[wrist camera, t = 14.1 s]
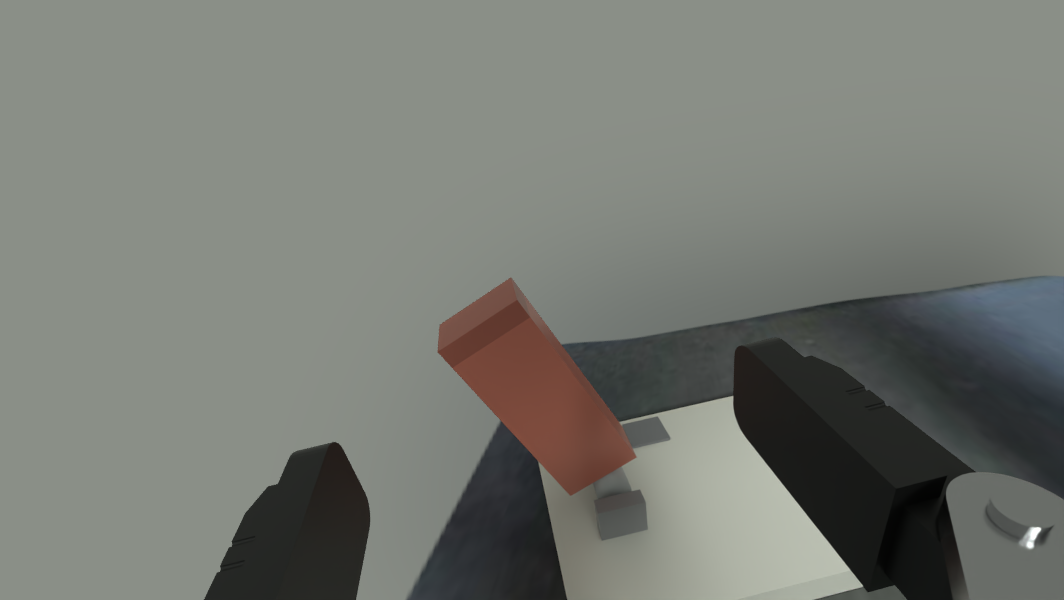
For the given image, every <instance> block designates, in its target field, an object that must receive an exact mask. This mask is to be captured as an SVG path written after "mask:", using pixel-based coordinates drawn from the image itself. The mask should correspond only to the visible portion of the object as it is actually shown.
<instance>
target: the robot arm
mask: <svg viewBox="0 0 1064 600" xmlns="http://www.w3.org/2000/svg"><path fill="white" fill-rule="evenodd" d="M733 409H734V414H735V418H736V420H737V423H738V425H739V428H740V429H741V431H742V433H743V434H744V436H745V437H746V439H747V440H748V441H749V442H750V444H751V445H752V446H753V447H754V449H755V450H756V451H757V452H758V454H759V455H760V456H761V458H762V459H763V460H764V461H765V463H766V464H767V465H768V466H769V468H770V469H771V470H772V471H773V473H774V474H775V475H776V476H777V478H778V479H779V480H780V482H781V483H782V484H783V485H784V487H785V488H786V489H787V490H788V492H789V493H790V494H791V495H792V497H793V498H794V499H795V501H796V502H797V503H798V504H799V506H800V507H801V508H802V509H803V511H804V512H805V513H806V514H807V516H808V517H809V518H810V520H811V521H812V522H813V523H814V525H815V526H816V527H817V528H818V530H819V531H820V532H821V533H822V535H823V536H824V537H825V538H826V540H827V541H828V542H829V544H830V545H831V546H832V547H833V549H834V550H835V551H836V552H837V554H838V555H839V556H840V557H841V559H842V560H843V561H844V563H845V564H846V565H847V566H848V568H849V569H850V570H851V571H852V573H853V574H854V575H855V576H856V578H857V579H858V580H859V582H860V583H861V584H862V585H863V587H864V588H865V589H866V590H867V592H871V591H874V590H878V589H882V588H885V587H889V586H893V585H895V586H896V587H897V588H898V589H899V590H900V591H901V593H902V594H903V595H904V596H905V597H906V598H907V600H1064V500H1063V499H1062V498H1060V497H1059V496H1057V495H1055V494H1054V493H1052V492H1050V491H1048V490H1046V489H1044V488H1042V487H1040V486H1037V485H1035V484H1032V483H1030V482H1027V481H1024V480H1021V479H1018V478H1015V477H1011V476H1007V475H1003V474H997V473H987V472H975V471H974V470H973V469H971V468H970V467H968V466H967V465H966V464H964V463H963V462H962V461H961V460H959V459H958V458H957V457H955V456H954V455H953V454H951V453H950V452H949V451H948V450H946V449H945V448H944V447H942V446H941V445H940V444H939V443H937V442H936V441H935V440H933V439H932V438H931V437H929V436H928V435H927V434H926V433H924V432H923V431H922V430H920V429H919V428H918V427H917V426H915V425H914V424H913V423H911V422H910V421H909V420H907V419H906V418H905V417H904V416H902V415H901V414H900V413H898V412H897V411H896V410H894V409H893V408H892V407H891V406H886V405H885V403H884V401H883V400H882V399H880V398H879V397H878V396H876V395H875V394H874V393H872V392H871V391H870V390H868V391H866V390H865V386H863V385H862V384H861V383H859V382H858V381H857V380H856V379H854V378H853V377H852V376H850V375H849V374H848V373H847V372H845V371H844V370H843V369H841V368H839V367H837V366H834V365H832V364H830V363H827V362H825V361H823V360H820V359H818V358H816V357H813V356H808V357H803V356H802V355H801V354H799V353H798V352H797V351H796V350H794V349H793V348H792V347H791V346H790V345H788V344H787V343H786V342H785V341H783V340H782V339H780V338H770V339H766V340H762V341H758V342H754V343H750V344H745V345H741V346H739V347H737V349H736V351H735V358H734V391H733ZM369 527H370V510H369V503H368V500H367V497H366V494H365V492H364V490H363V488H362V486H361V484H360V482H359V480H358V478H357V476H356V474H355V472H354V470H353V468H352V466H351V464H350V462H349V460H348V458H347V456H346V454H345V452H344V450H343V449H342V447H341V446H340V445H339V444H338V443H336V442H332V443H328V444H324V445H320V446H316V447H312V448H307V449H303V450H299V451H296V452H294V453H293V454H292V455H291V456H290V458H289V460H288V462H287V465H286V467H285V469H284V471H283V474H282V476H281V478H280V481H279V483H278V484H276V485H272V486H268V487H267V488H266V490H265V491H264V492H263V493H262V494H261V495H260V497H259V498H258V499H257V500H256V501H255V502H254V504H253V505H252V506H251V507H250V508H249V510H248V511H247V512H246V513H245V515H244V517H243V519H242V521H241V523H240V526H239V528H238V530H237V532H236V534H235V536H234V538H233V540H232V547H229V549H228V551H227V553H226V555H225V557H224V559H223V561H222V563H221V566H220V567H221V571H220V572H218V573H217V574H216V576H215V578H214V580H213V582H212V584H211V586H210V588H209V590H208V593H207V595H206V597H205V599H204V600H356V596H357V591H358V585H359V580H360V575H361V570H362V565H363V560H364V554H365V549H366V544H367V538H368V533H369Z"/></svg>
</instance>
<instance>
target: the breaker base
mask: <svg viewBox="0 0 1064 600" xmlns="http://www.w3.org/2000/svg"><path fill="white" fill-rule="evenodd" d="M619 423H620V424H621V425H622V427H623V429H624V431H625V434H626V436H627V438H628V440H629V442H630V444H631V446H632V448H633V450H634V453H635V455H636V457H637V458H635V459H633V460H631V461H630V462H628V463H626V464H625V465H623V466H622V468H623V470H624V472H625V475H626V477H627V479H628V482H629V484H630V486H631V489H632V491H631V492H627V493H622V494H618V495H614V496H610V497H606V498H601V499H598V498H597V495H596V492H595V489H594V486H593V483H592V484H590V485H589V486H587V487H585V488H583V489H582V490H580V491H578V492H577V493H575V494H573V495H571V496H570V495H569V494H568V493H567V492H566V491H565V490H564V488H563V487H562V486H561V485H560V484H559V483H558V482H557V481H556V480H555V479H554V478H553V477H552V475H551V474H550V473H549V472H548V471H547V470H546V469H545V468H544V467H543V466H542V465H541V464H540V462H539V461H538V463H539V468H540V472H541V477H542V482H543V487H544V491H545V496H546V501H547V506H548V510H549V515H550V520H551V525H552V530H553V534H554V539H555V544H556V549H557V553H558V558H559V563H560V568H561V572H562V577H563V582H564V587H565V592H566V596H567V600H814V599H818V598H822V597H825V596H829V595H833V594H837V593H841V592H845V591H849V590H852V589H856V588H860V587H863V585H862V584H861V583H860V582H859V580H858V579H857V578H856V576H855V575H854V574H853V573H852V571H851V570H850V569H849V568H848V566H847V565H846V564H845V563H844V561H843V560H842V559H841V557H840V556H839V555H838V554H837V552H836V551H835V550H834V549H833V547H832V546H831V545H830V544H829V542H828V541H827V540H826V538H825V537H824V536H823V535H822V533H821V532H820V531H819V530H818V528H817V527H816V526H815V525H814V523H813V522H812V521H811V520H810V518H809V517H808V516H807V514H806V513H805V512H804V511H803V509H802V508H801V507H800V506H799V504H798V503H797V502H796V501H795V499H794V498H793V497H792V495H791V494H790V493H789V492H788V490H787V489H786V488H785V487H784V485H783V484H782V483H781V482H780V480H779V479H778V478H777V476H776V475H775V474H774V473H773V471H772V470H771V469H770V468H769V466H768V465H767V464H766V463H765V461H764V460H763V459H762V458H761V456H760V455H759V454H758V452H757V451H756V450H755V449H754V447H753V446H752V445H751V444H750V442H749V441H748V440H747V439H746V437H745V436H744V434H743V433H742V431H741V429H740V428H739V425H738V423H737V420H736V418H735V414H734V409H733V396H730V397H726V398H722V399H717V400H713V401H709V402H704V403H700V404H696V405H691V406H687V407H682V408H678V409H674V410H669V411H665V412H661V413H656V414H652V415H648V416H643V417H639V418H634V419H630V420H626V421H621V422H619Z"/></svg>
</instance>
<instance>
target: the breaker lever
mask: <svg viewBox="0 0 1064 600" xmlns="http://www.w3.org/2000/svg"><path fill="white" fill-rule="evenodd" d="M438 353H439V354H440V355H441V356H442V357H443V358H444V359H445V361H446V362H447V363H448V364H449V365H450V366H451V367H452V368H453V369H454V370H455V371H456V372H457V374H458V375H459V376H460V377H462V379H463V380H464V381H465V382H466V383H467V384H468V385H469V387H470V388H471V389H472V390H473V391H474V392H475V393H476V394H477V395H478V396H479V397H480V398H481V399H482V401H483V402H484V403H485V404H486V405H487V406H488V407H489V408H490V409H491V410H492V411H493V413H494V414H495V415H496V416H497V417H498V418H499V419H500V420H501V421H502V422H503V423H504V425H505V426H506V427H507V428H508V429H509V430H510V431H511V432H512V433H513V434H514V435H515V436H516V438H517V439H518V440H519V441H520V442H521V443H522V444H523V445H524V446H525V447H526V448H527V449H528V451H529V452H530V453H531V454H532V455H533V456H534V457H535V458H536V459H537V460H538V461H539V462H540V464H541V465H542V466H543V467H544V468H545V469H546V470H547V471H548V472H549V473H550V474H551V475H552V477H553V478H554V479H555V480H556V481H557V482H558V483H559V484H560V485H561V486H562V487H563V488H564V490H565V491H566V492H567V493H568V494H569V495H570V496H571V495H573V494H575V493H577V492H578V491H580V490H582V489H583V488H585V487H587V486H589V485H590V484H592V483H593V486H594V489H595V492H596V495H597V498H598V499H601V498H606V497H610V496H614V495H618V494H622V493H627V492H631V491H632V489H631V486H630V484H629V482H628V479H627V477H626V475H625V472H624V470H623V468H622V466H623V465H625V464H626V463H628V462H630V461H631V460H633V459H635V458H637V457H636V455H635V453H634V450H633V448H632V446H631V444H630V442H629V440H628V438H627V436H626V434H625V431H624V429H623V427H622V425H621V424H620V423H619V421H618V420H617V419H616V417H615V416H614V415H613V413H612V412H611V411H610V409H609V408H608V407H607V405H606V404H605V403H604V401H603V400H602V399H601V397H600V396H599V395H598V393H597V392H596V391H595V389H594V388H593V387H592V385H591V384H590V383H589V381H588V380H587V379H586V377H585V376H584V375H583V373H582V372H581V370H580V369H579V368H578V366H577V365H576V364H575V362H574V361H573V360H572V358H571V357H570V356H569V354H568V353H567V352H566V350H565V349H564V348H563V346H562V345H561V344H560V342H559V341H558V340H557V338H556V337H555V336H554V334H553V333H552V332H551V330H550V329H549V328H548V326H547V325H546V324H545V322H544V321H543V320H542V318H541V317H540V316H539V314H538V313H537V312H536V310H535V309H534V308H533V306H532V305H531V303H529V301H528V299H527V298H526V297H525V296H524V294H523V293H522V291H521V290H520V289H519V287H518V286H517V285H516V283H515V282H514V281H513V279H512V278H509V279H508V280H506V281H505V282H503V283H502V284H500V285H499V286H497V287H496V288H495V289H493V290H491V291H490V292H488V293H487V294H485V295H484V296H482V297H481V298H480V299H478V300H476V301H475V302H473V303H472V304H471V305H469V306H467V307H466V308H464V309H463V310H461V311H460V312H458V313H457V314H455V315H454V316H452V317H451V318H449V319H448V320H446V321H445V322H443V323H442V324H441V325H440V328H439V341H438Z"/></svg>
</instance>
